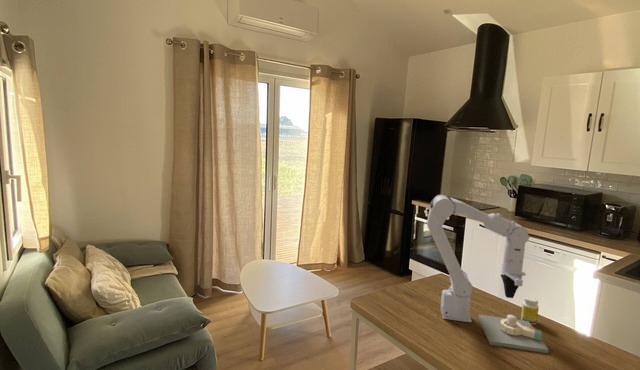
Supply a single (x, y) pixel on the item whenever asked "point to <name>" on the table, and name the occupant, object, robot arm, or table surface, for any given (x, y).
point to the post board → (507, 340)
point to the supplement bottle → (530, 310)
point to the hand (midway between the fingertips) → (509, 296)
